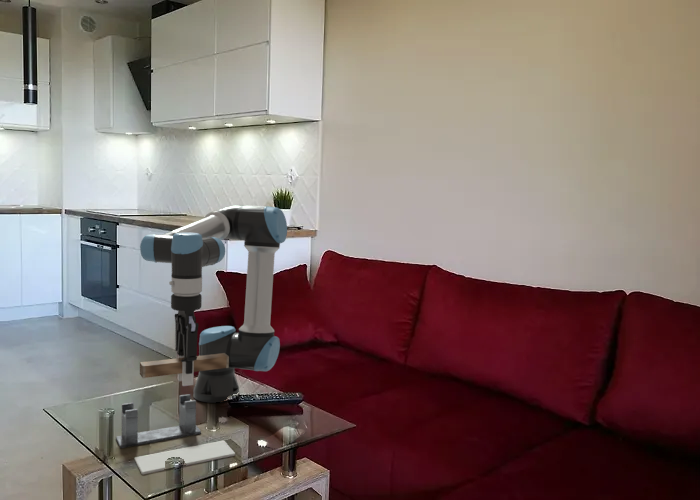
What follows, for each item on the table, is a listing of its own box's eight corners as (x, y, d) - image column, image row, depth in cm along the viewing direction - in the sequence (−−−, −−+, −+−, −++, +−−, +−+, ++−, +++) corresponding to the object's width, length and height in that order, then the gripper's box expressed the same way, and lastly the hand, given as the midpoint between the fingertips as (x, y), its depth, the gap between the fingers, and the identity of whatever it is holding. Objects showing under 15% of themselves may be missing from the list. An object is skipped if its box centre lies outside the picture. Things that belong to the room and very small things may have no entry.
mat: (223, 442, 170) (223, 440, 170) (235, 455, 162) (235, 453, 162) (134, 459, 157) (134, 457, 157) (142, 474, 150) (142, 472, 150)
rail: (224, 364, 164) (224, 352, 164) (228, 367, 161) (228, 356, 161) (139, 374, 153) (139, 362, 153) (142, 378, 150) (142, 366, 150)
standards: (194, 425, 180) (194, 393, 179) (200, 433, 175) (201, 400, 174) (116, 439, 169) (115, 404, 168) (120, 448, 163) (120, 412, 162)
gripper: (163, 288, 160) (162, 375, 163) (180, 300, 146) (179, 394, 148) (191, 287, 164) (190, 371, 166) (211, 298, 150) (209, 390, 152)
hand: (185, 382), depth 157 cm, fingers closed on rail, 3 cm apart
